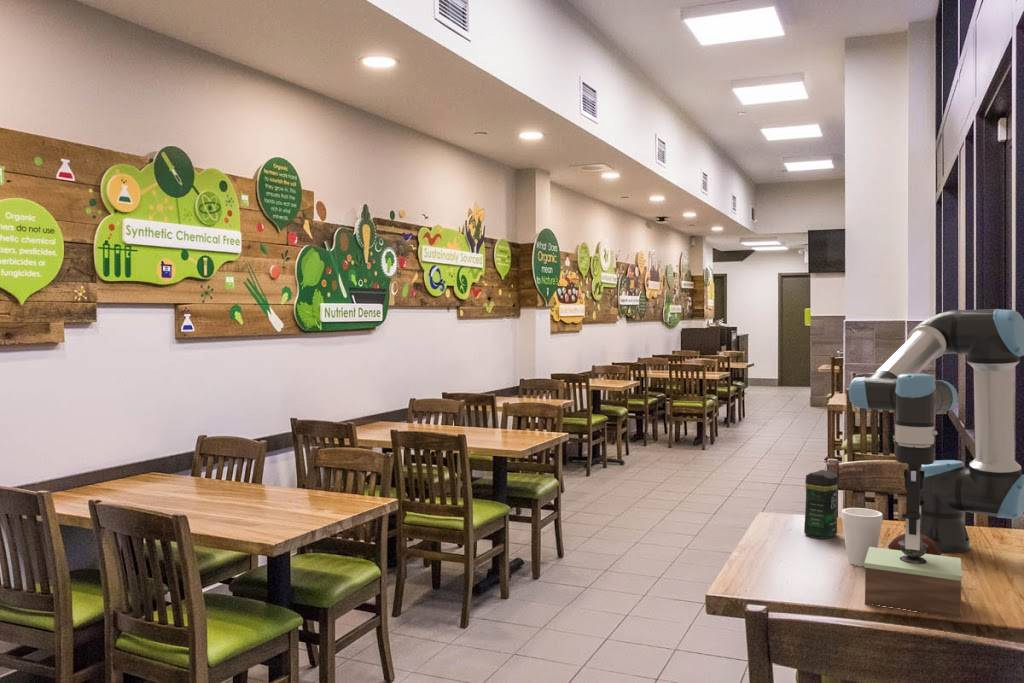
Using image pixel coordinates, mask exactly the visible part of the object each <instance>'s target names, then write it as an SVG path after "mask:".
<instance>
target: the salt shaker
mask: <svg viewBox="0 0 1024 683" xmlns="http://www.w3.org/2000/svg"><path fill="white" fill-rule="evenodd" d="M919 514H920V512H919ZM903 527H904V528H905V525H903ZM921 529H923V527H921V514H920V550H912V549H905V539H904V540H903V541H899V542H898V544H899V545H900V549H901V551H902V552H903V553H904V554H905V555H904V556H902V557H900V560H901V561H903V562H906V563H911V564H925V563H927V561H926V560H925V559H924V558H922V557H921V556H923V555H924V554H925V553H926V551H927V548H928V545H927V544H925V543H923V542H922V539H921Z"/></svg>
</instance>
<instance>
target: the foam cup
mask: <svg viewBox="0 0 1024 683" xmlns="http://www.w3.org/2000/svg"><path fill="white" fill-rule="evenodd" d="M883 517H884V516H883V513H882V512H881V511H878V510H876V509H870V508H864V507H863V508H861V507H847V508H843V509H842V510H841V521H842V527H843V535H844V542H845V544H844V545H845V550H846V558H847V562H848V564H850V563H851V564H850V565H852V564H853V565H852V566H856V565H858V566H857V567H861V566H864V562H865V559H866V556H867V553H868V550H869V547H876V548H879V543H880V536H881V530H882V524H883V522H884V521H883Z"/></svg>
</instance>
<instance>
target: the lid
mask: <svg viewBox="0 0 1024 683" xmlns="http://www.w3.org/2000/svg"><path fill="white" fill-rule="evenodd" d="M904 555H905V554H904V553H903V552H902V551H900V550H892V549H889V548H882V547H878V548H876V547H869V550H868V553H867V556H866V559H865V562H864V567H863V568H872V569H880V570H887V571H894V572H901V573H908V574H916V575H923V576H930V577H937V578H945V579H952V580H959V581H961V582H962V581H963V571H962V570H963V569H962V560H961V557H956V556H955V557H954V556H947V555H940V556H939V555H932V554H924V555H923V556H921V557H922V558H924V559H925V560H926V561H927V563H925V564H911V563H906V562H903V561H901V560H900V557H902V556H904Z"/></svg>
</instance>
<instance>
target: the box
mask: <svg viewBox="0 0 1024 683" xmlns="http://www.w3.org/2000/svg"><path fill="white" fill-rule="evenodd" d="M864 568H865V567H864ZM864 574H865V575H864V576H865V577H864V587H865V588H864V605H867V604H873V605H880V606H886V607H893V608H900V609H906V610H911V611H917V612H921V613H920V614H924V613H927V614H926V615H930V614H933V615H932V616H936V615H937V616H938V617H942V616H943V617H944V618H949V617H950V618H951V619H955V618H960V619H959V620H961V617H962V616H961V615H962V612H961V609H962V607H961V606H962V603H961V602H962V581H959V580H952V579H945V578H937V577H930V576H923V575H916V574H908V573H901V572H894V571H887V570H880V569H872V568H865V569H864ZM873 605H872V606H873ZM880 606H879V607H880ZM886 607H885V608H886ZM911 611H910V612H911ZM917 612H916V613H917ZM943 617H942V618H943Z"/></svg>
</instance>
